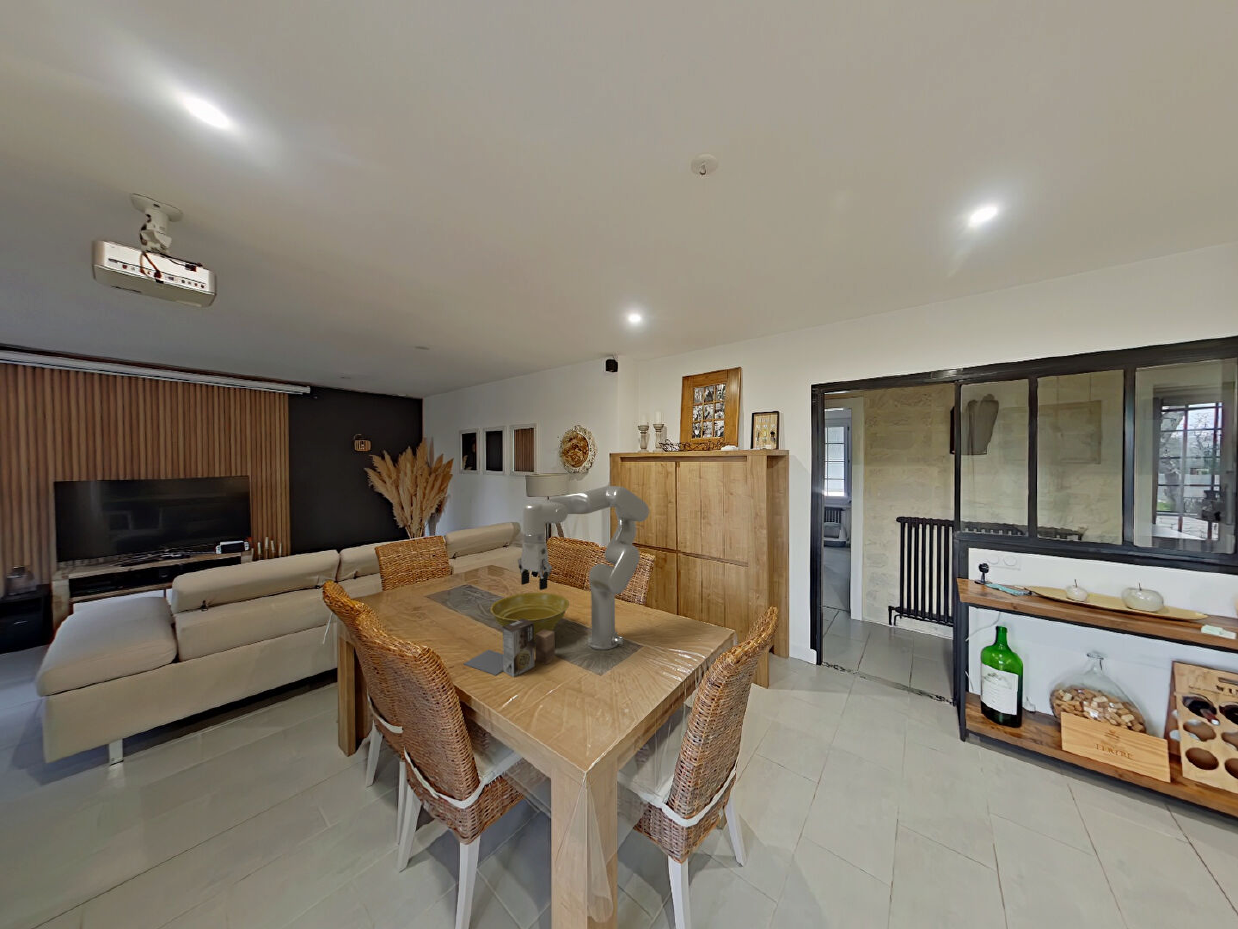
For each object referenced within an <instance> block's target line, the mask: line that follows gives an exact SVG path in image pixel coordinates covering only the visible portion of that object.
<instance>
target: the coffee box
mask: <svg viewBox="0 0 1238 929" xmlns="http://www.w3.org/2000/svg"><path fill="white" fill-rule="evenodd" d="M502 652H503V653H502V654H503V667H504V671H503V672H504V673H506V674H507V675H509V676H511V677H513V678H515V677H517V676H519V675H521V674H523V673H525V672H527V671H528V670H531V669H533V668H535V667H536V666H535V643H534V623H533V622H530V621H529V620H526V619H524V618H523V619H520V620H518V621H515V622H513V623H510V624H508V625H505V626H502Z"/></svg>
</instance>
